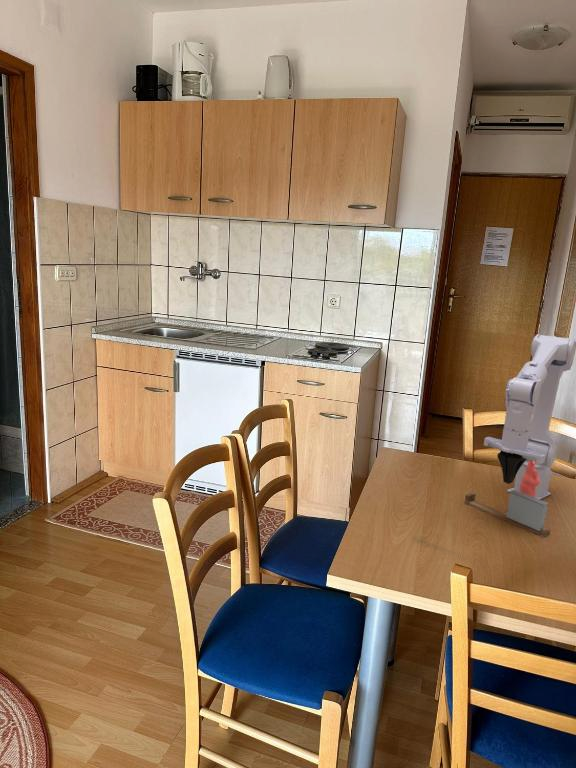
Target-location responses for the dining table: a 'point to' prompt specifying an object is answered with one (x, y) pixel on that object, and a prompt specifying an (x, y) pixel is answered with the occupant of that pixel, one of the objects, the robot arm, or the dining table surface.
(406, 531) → the dining table surface
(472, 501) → the rail
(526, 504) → the screen
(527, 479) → the figurine
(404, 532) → the dining table surface
